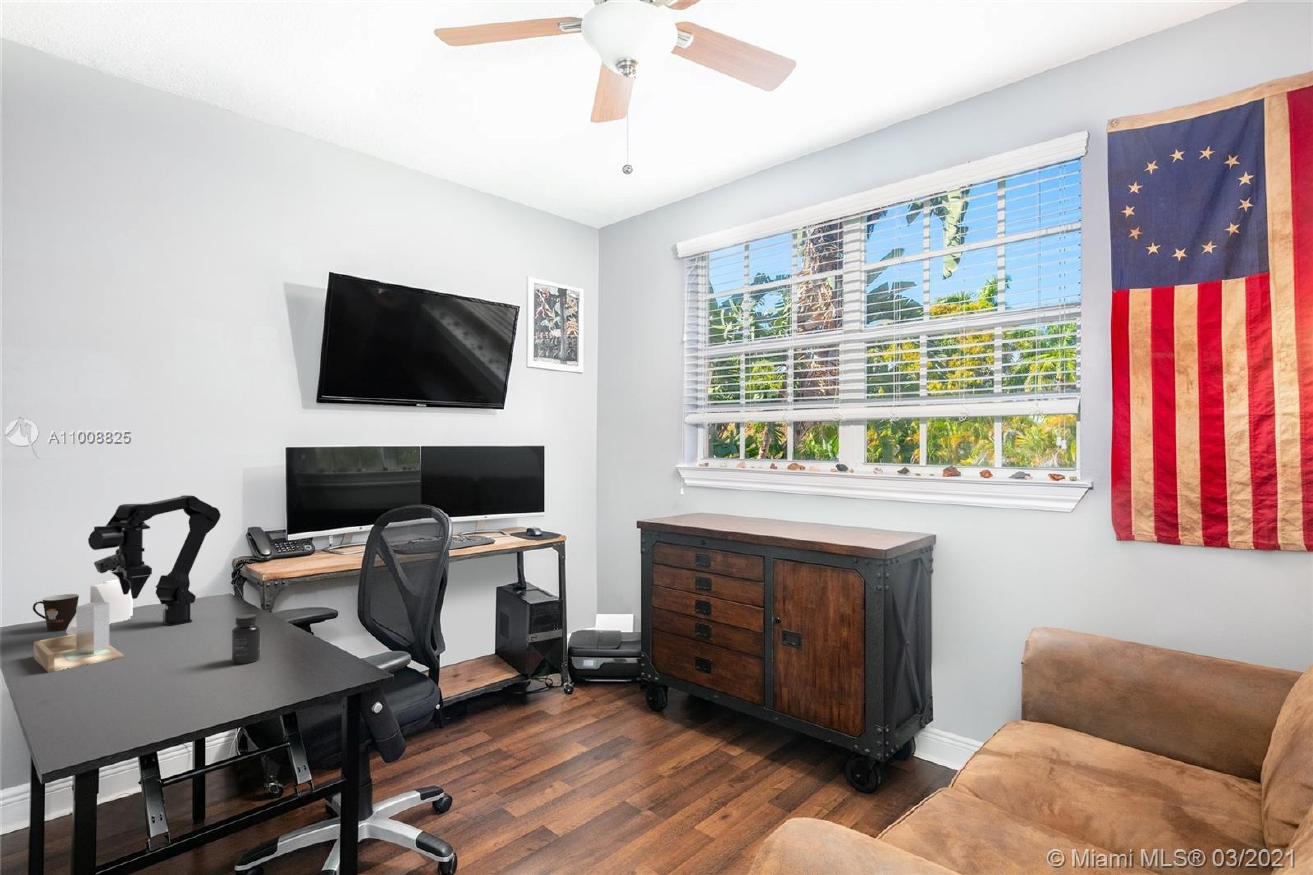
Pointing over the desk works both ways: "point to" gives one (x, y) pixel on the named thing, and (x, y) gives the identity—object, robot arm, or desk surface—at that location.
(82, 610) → the aluminium block
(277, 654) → the desk surface
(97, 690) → the desk surface
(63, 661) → the tan wooden shallow tray
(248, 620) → the supplement bottle
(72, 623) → the hook
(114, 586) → the white angled block
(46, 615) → the coffee mug
